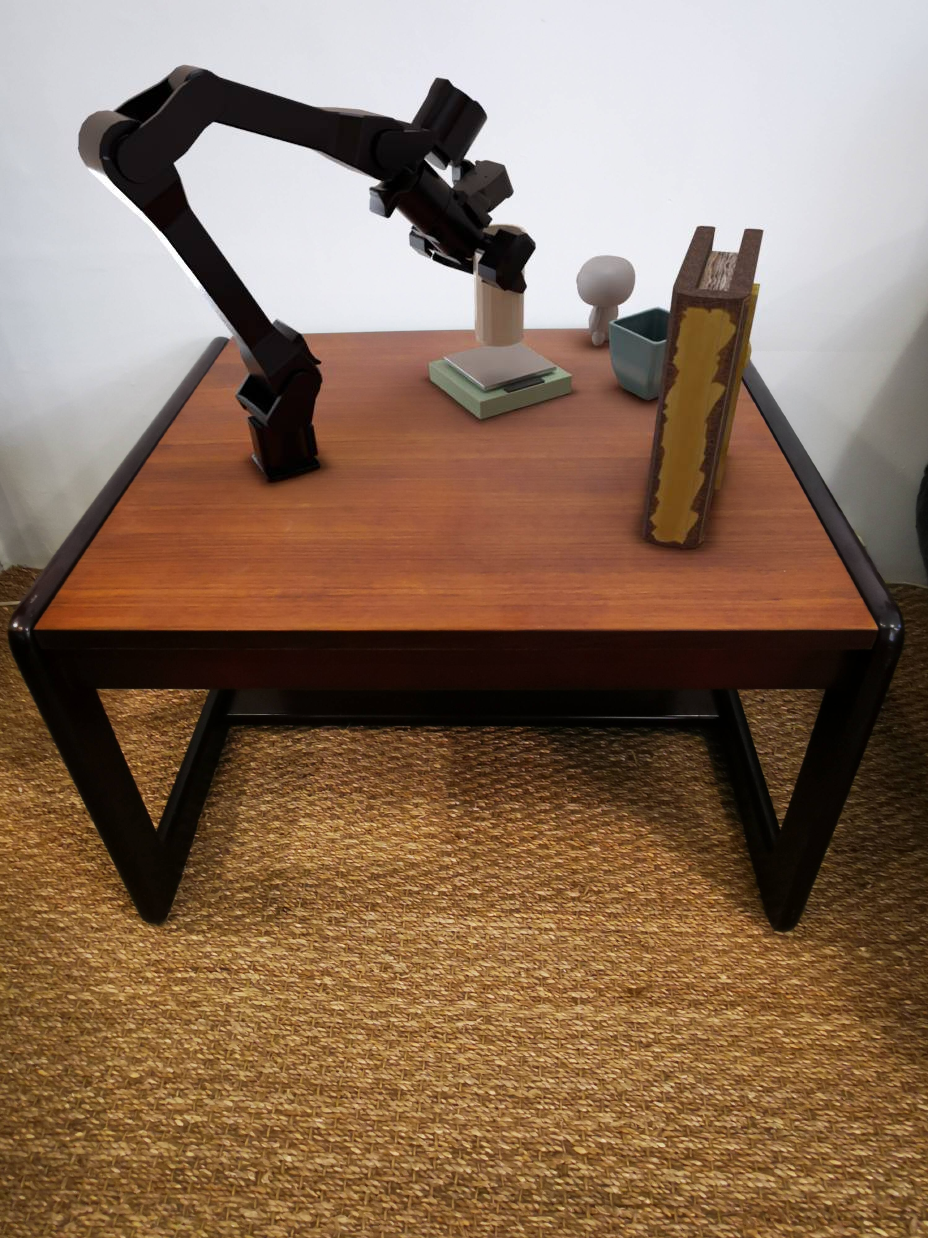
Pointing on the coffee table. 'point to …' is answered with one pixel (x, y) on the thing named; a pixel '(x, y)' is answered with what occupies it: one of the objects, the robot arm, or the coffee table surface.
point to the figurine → (604, 291)
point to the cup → (497, 307)
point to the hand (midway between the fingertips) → (507, 282)
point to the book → (699, 385)
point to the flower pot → (639, 350)
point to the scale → (499, 390)
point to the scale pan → (499, 365)
